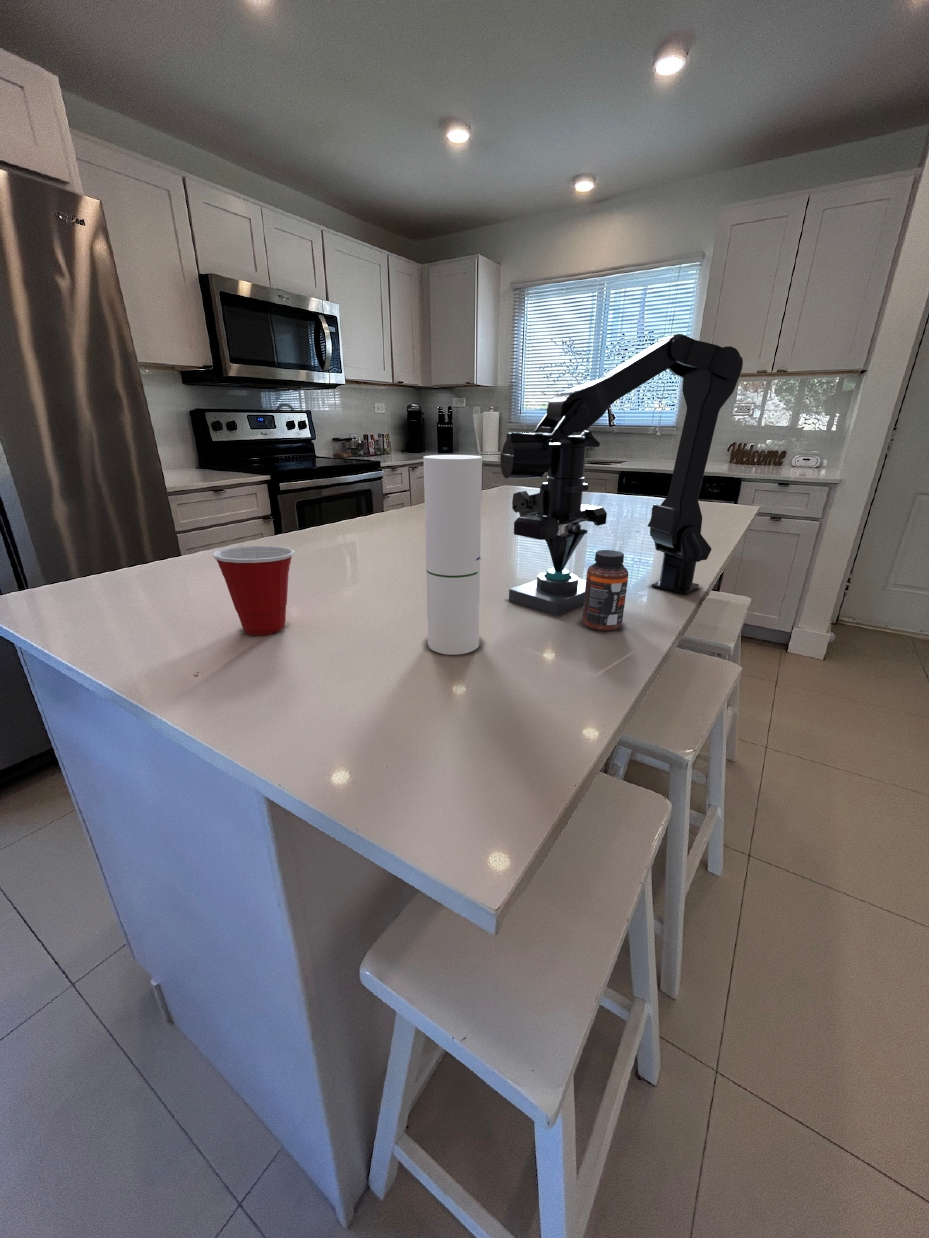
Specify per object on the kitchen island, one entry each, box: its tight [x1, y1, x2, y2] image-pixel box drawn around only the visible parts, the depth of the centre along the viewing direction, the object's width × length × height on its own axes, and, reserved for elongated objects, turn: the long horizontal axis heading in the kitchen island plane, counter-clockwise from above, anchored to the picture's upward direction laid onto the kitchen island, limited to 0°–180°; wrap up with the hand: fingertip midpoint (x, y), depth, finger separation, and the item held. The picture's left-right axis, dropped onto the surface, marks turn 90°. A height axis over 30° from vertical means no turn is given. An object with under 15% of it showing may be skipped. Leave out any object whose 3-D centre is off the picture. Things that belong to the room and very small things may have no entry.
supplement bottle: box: [581, 549, 629, 632], centre depth 76 cm, size 6×6×11 cm
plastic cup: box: [212, 545, 296, 636], centre depth 74 cm, size 11×11×12 cm
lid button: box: [545, 567, 571, 581], centre depth 87 cm, size 4×4×2 cm
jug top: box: [508, 571, 586, 617], centre depth 88 cm, size 14×10×4 cm
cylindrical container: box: [423, 454, 483, 656], centre depth 66 cm, size 7×7×25 cm
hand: (558, 571), depth 87 cm, fingers closed, pressing on lid button
